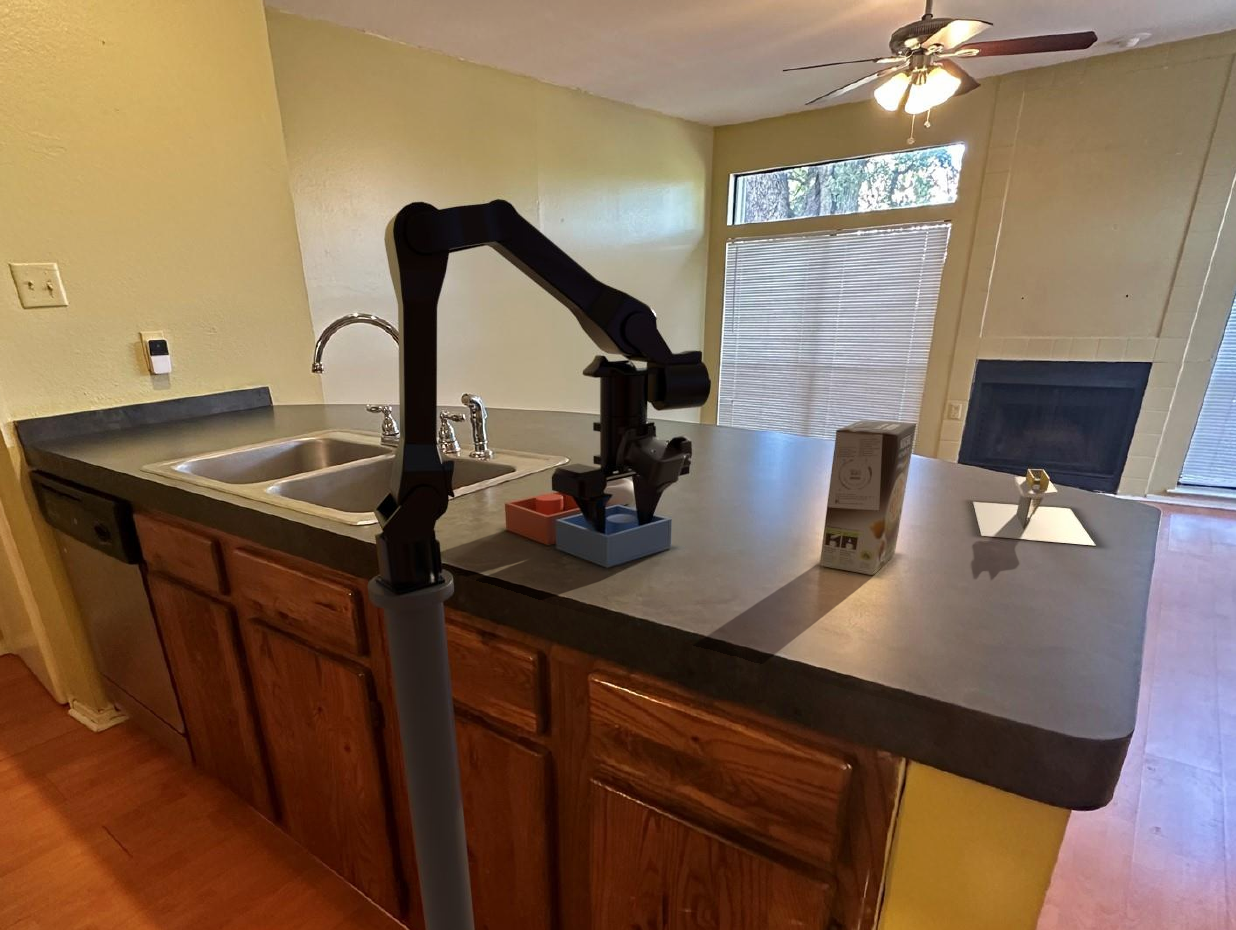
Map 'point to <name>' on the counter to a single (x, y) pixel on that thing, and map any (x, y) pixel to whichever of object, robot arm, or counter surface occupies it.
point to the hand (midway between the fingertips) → (622, 536)
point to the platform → (1031, 515)
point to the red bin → (537, 518)
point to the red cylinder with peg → (549, 504)
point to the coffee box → (866, 494)
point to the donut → (620, 492)
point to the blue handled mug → (620, 523)
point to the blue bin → (612, 538)
